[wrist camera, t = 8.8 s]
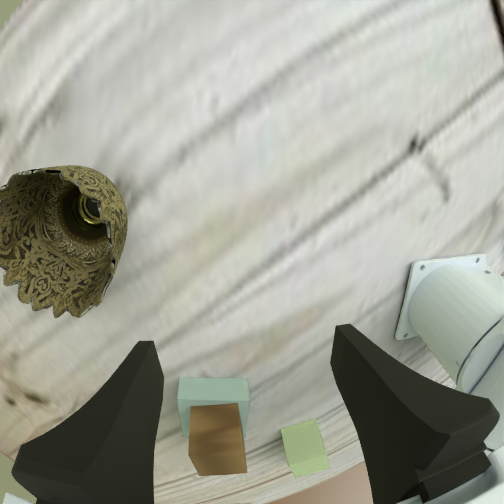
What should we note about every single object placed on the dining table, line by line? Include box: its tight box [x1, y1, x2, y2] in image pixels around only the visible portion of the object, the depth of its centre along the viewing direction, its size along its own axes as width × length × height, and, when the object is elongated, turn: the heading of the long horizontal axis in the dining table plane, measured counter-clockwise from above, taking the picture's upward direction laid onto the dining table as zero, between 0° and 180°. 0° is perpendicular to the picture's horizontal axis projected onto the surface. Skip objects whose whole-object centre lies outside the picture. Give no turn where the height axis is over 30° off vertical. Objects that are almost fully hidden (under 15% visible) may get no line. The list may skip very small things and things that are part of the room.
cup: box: [0, 165, 127, 318], centre depth 15 cm, size 8×7×8 cm
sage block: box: [281, 419, 330, 478], centre depth 29 cm, size 4×4×5 cm
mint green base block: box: [177, 377, 250, 437], centre depth 26 cm, size 6×6×3 cm
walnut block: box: [189, 403, 247, 476], centre depth 22 cm, size 4×4×5 cm
